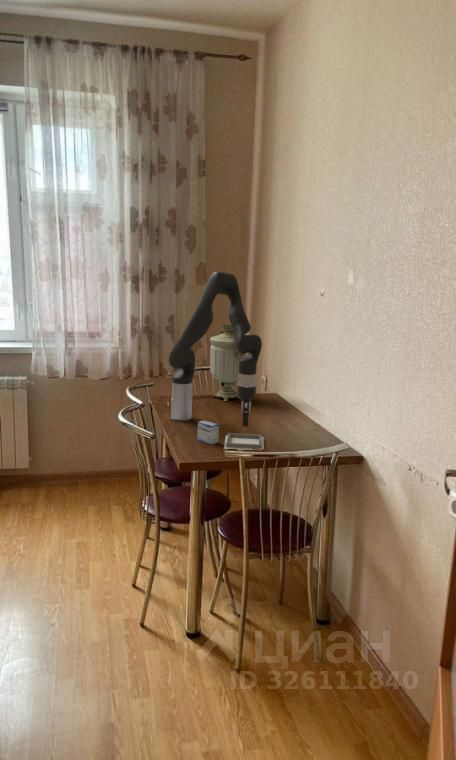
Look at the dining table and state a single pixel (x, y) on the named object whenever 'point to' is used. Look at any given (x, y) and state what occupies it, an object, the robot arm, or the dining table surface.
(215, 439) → the medicine box
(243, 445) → the board
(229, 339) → the samovar
